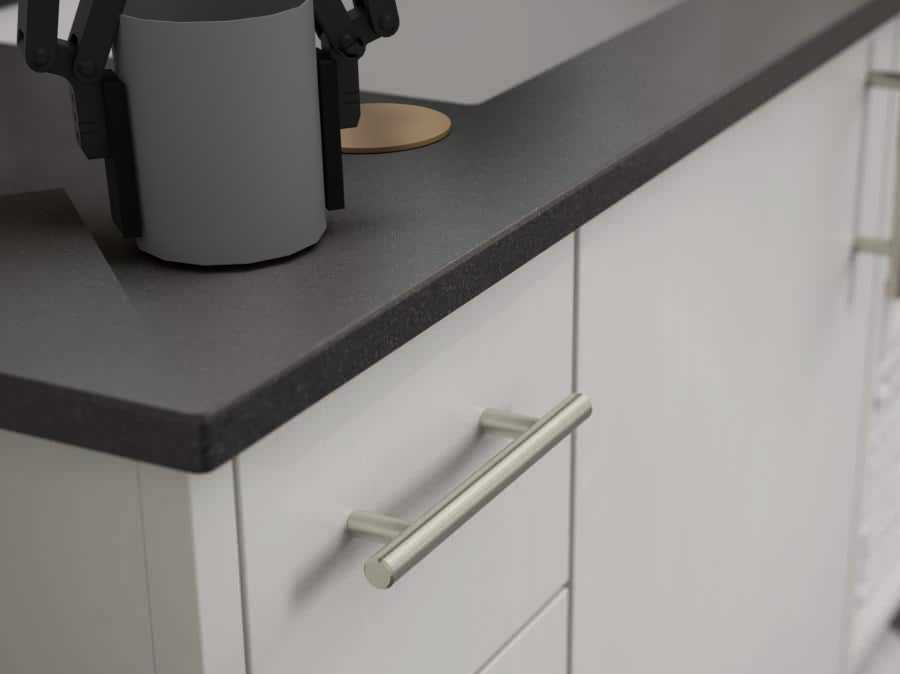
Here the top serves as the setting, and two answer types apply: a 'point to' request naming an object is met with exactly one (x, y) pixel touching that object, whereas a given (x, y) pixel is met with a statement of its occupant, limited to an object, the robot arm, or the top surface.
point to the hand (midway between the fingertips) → (229, 213)
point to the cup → (223, 127)
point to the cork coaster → (394, 128)
